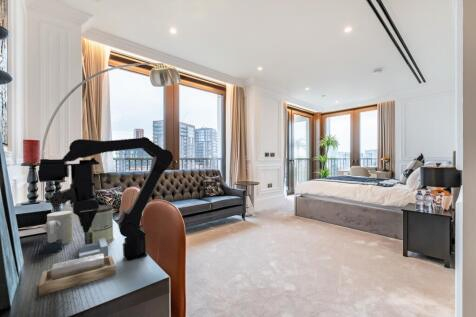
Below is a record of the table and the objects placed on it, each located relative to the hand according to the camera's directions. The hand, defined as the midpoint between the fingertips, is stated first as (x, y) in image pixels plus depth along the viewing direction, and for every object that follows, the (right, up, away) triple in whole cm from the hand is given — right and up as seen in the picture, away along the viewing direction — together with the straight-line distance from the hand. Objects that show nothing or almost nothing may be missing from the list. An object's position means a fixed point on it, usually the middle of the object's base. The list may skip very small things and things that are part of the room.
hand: (84, 228), depth 72 cm
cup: (-25, -13, +22) cm, 36 cm away
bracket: (-2, -12, +6) cm, 14 cm away
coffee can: (-8, -12, +22) cm, 26 cm away
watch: (-21, -13, +14) cm, 28 cm away
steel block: (+3, -11, -7) cm, 13 cm away
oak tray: (+3, -12, -7) cm, 14 cm away
